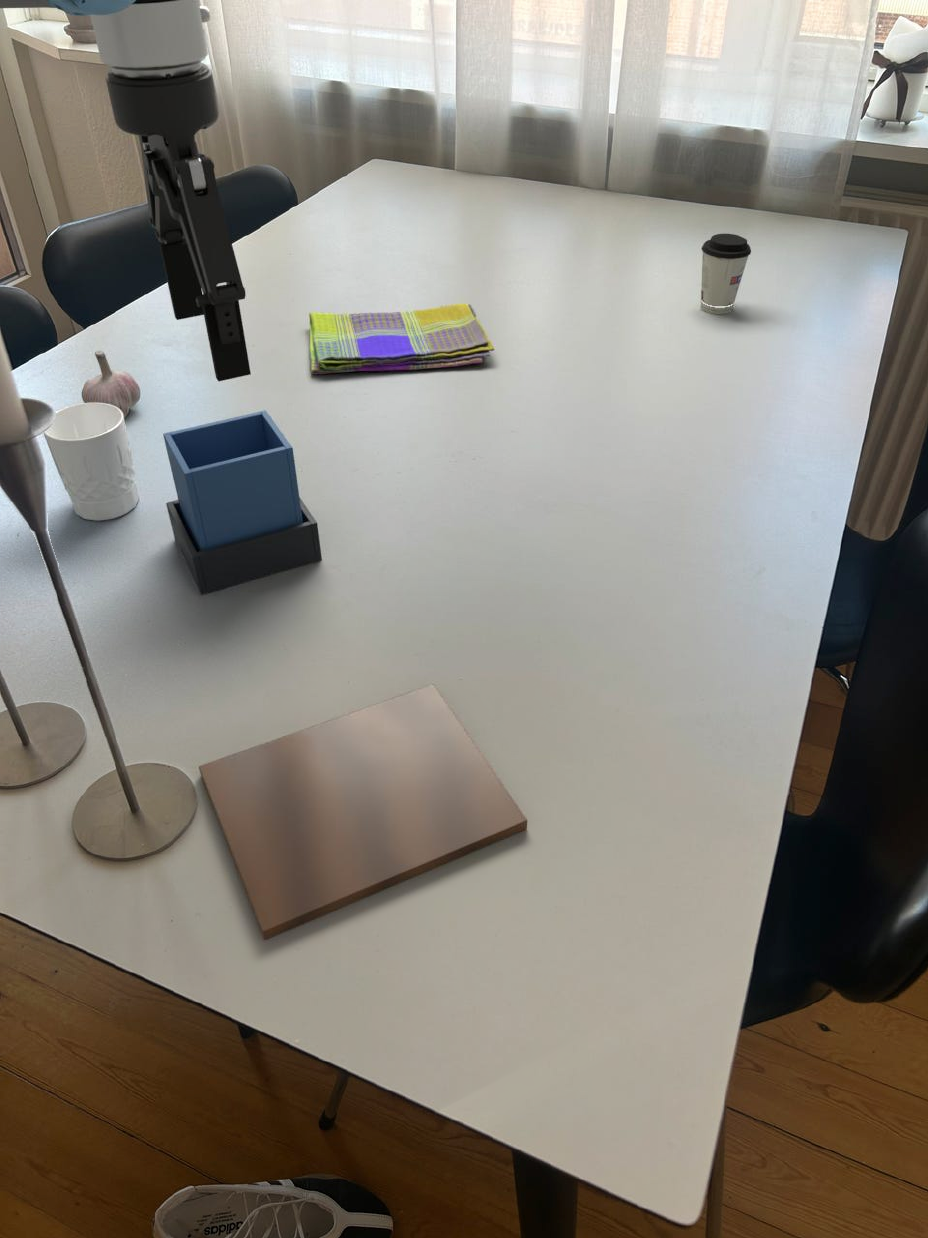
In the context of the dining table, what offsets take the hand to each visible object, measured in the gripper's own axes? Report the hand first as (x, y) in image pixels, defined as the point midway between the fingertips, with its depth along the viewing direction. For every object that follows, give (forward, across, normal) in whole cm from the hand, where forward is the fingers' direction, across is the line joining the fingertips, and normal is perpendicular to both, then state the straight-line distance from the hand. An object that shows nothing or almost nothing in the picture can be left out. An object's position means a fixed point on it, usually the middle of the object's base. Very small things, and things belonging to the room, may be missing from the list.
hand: (210, 344), depth 83 cm
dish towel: (+22, +37, -33) cm, 54 cm away
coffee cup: (+22, +27, -80) cm, 87 cm away
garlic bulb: (+22, +36, +6) cm, 43 cm away
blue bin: (+21, 0, 0) cm, 21 cm away
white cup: (+22, +15, +11) cm, 29 cm away
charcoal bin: (+22, 0, 0) cm, 22 cm away
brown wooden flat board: (+22, -35, +2) cm, 41 cm away
